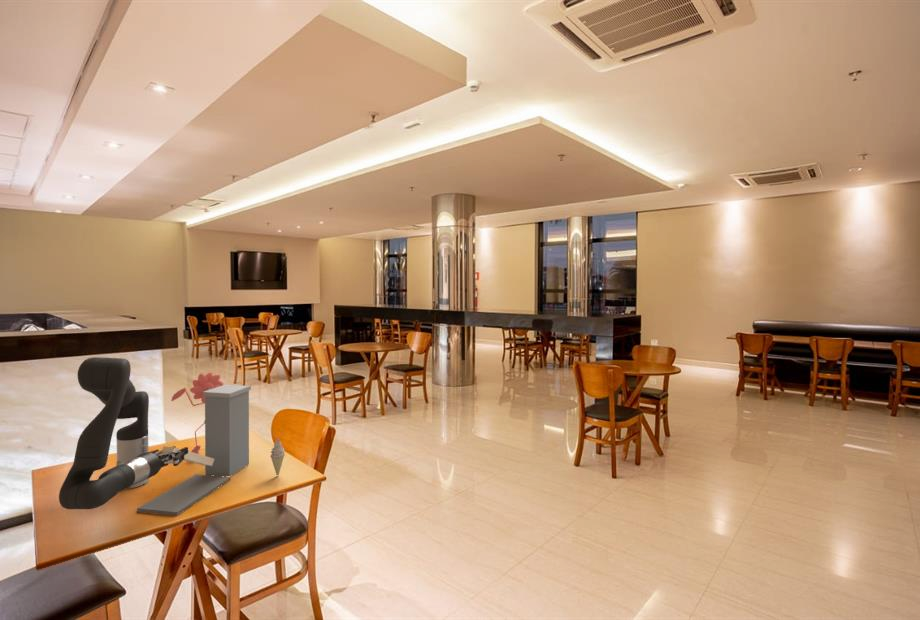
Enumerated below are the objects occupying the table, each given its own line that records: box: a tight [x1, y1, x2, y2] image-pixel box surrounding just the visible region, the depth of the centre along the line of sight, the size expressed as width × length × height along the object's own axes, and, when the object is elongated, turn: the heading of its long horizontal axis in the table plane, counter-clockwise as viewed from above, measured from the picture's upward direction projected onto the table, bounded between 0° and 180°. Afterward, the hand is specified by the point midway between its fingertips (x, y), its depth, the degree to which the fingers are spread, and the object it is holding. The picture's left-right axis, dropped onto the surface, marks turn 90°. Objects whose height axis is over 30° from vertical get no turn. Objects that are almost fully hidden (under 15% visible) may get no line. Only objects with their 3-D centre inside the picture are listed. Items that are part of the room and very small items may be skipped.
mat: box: [136, 473, 231, 517], centre depth 154 cm, size 26×14×1 cm, turn 172°
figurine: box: [171, 371, 224, 454], centre depth 190 cm, size 15×26×35 cm, turn 130°
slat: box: [161, 445, 214, 466], centre depth 154 cm, size 22×4×2 cm, turn 173°
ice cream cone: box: [270, 437, 286, 476], centre depth 170 cm, size 5×5×15 cm
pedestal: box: [203, 384, 252, 477], centre depth 174 cm, size 13×11×32 cm
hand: (180, 449), depth 150 cm, fingers closed on slat, 4 cm apart
